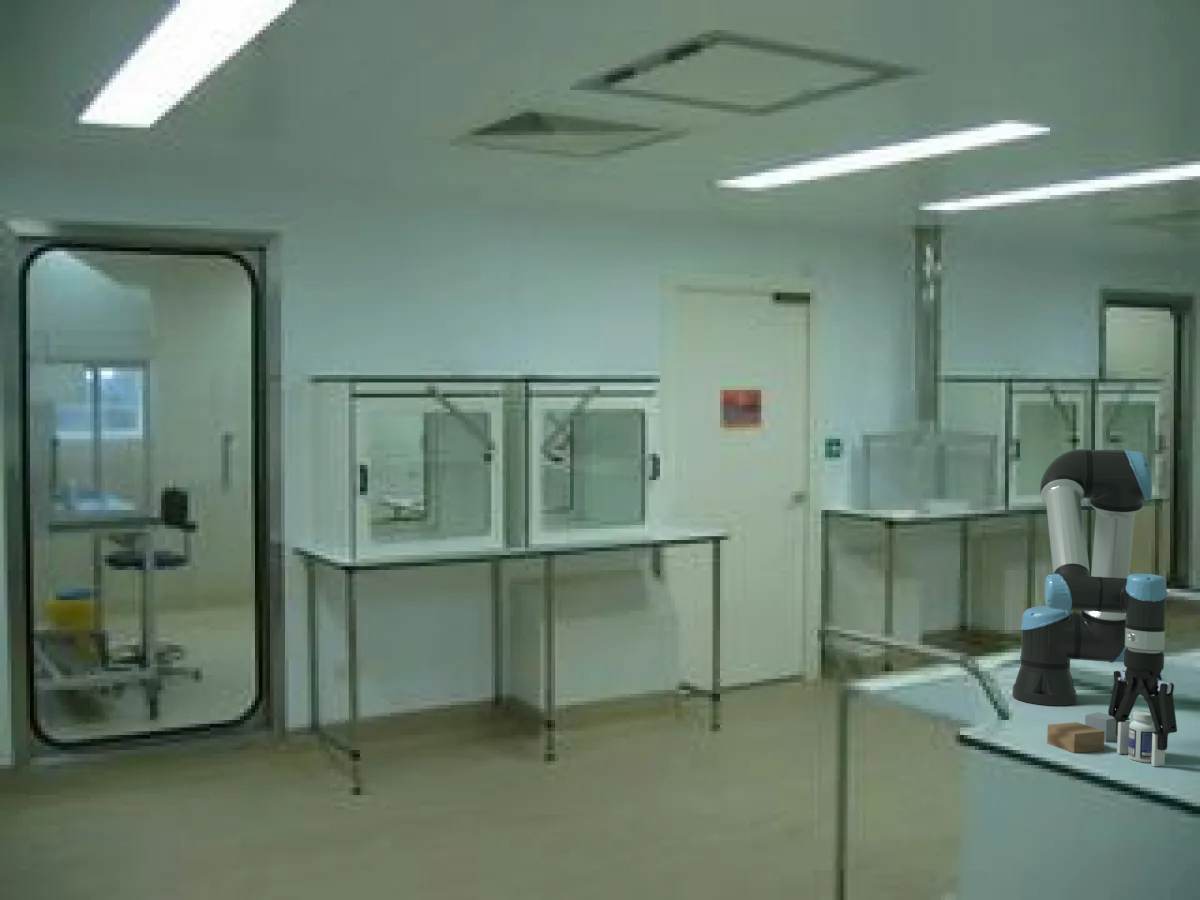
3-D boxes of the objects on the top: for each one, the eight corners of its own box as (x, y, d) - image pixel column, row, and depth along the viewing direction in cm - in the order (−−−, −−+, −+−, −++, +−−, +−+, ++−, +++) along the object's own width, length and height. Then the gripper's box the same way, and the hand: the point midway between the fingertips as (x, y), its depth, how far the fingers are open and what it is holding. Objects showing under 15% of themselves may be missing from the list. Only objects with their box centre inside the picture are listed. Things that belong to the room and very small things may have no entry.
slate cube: (1084, 737, 266) (1085, 715, 265) (1097, 734, 269) (1098, 712, 268) (1105, 742, 262) (1106, 719, 261) (1118, 739, 264) (1119, 716, 264)
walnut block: (1047, 743, 260) (1047, 724, 260) (1076, 740, 263) (1077, 722, 262) (1074, 753, 252) (1074, 734, 252) (1103, 750, 255) (1104, 731, 255)
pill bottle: (1160, 759, 249) (1161, 712, 248) (1151, 764, 245) (1153, 717, 244) (1133, 754, 252) (1134, 708, 252) (1124, 759, 248) (1126, 712, 248)
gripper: (1091, 641, 256) (1088, 746, 257) (1171, 660, 236) (1167, 774, 237) (1119, 639, 259) (1115, 744, 259) (1200, 658, 239) (1196, 771, 240)
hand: (1140, 758), depth 248 cm, fingers open, 8 cm apart
